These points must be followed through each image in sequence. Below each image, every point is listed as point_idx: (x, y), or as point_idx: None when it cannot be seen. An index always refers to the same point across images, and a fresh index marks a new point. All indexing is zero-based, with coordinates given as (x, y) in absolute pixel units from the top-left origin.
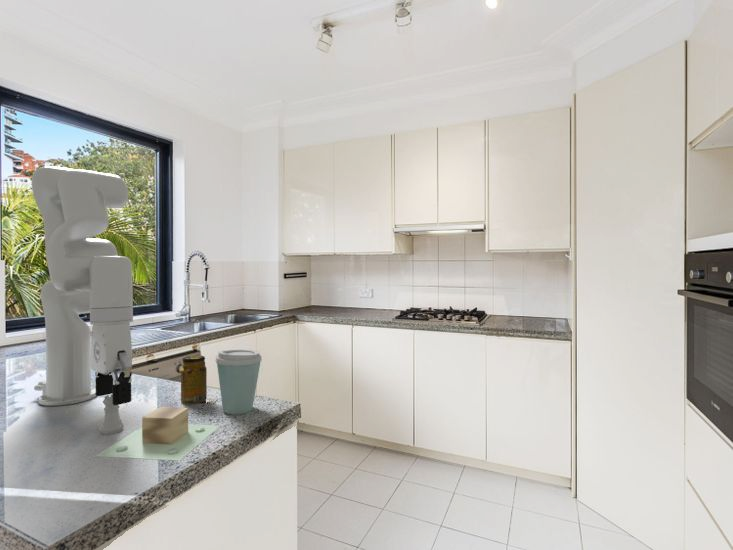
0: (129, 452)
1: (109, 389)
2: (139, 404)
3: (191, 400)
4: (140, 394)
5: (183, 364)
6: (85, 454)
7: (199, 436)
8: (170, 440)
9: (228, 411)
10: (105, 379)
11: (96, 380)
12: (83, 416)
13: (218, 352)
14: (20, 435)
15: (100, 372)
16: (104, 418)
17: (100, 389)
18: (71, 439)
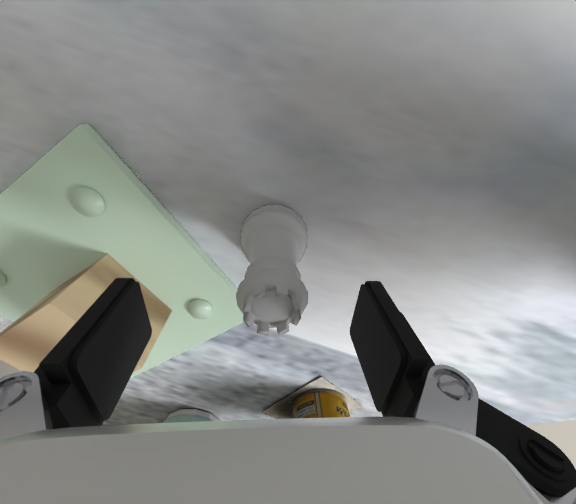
0: (50, 206)
1: (357, 336)
2: (432, 347)
3: (299, 411)
4: (499, 371)
5: None
6: (163, 122)
7: None
8: (44, 297)
9: (173, 421)
10: (383, 374)
11: (404, 343)
12: (499, 234)
13: None
14: (557, 12)
15: (105, 437)
16: (276, 239)
17: (368, 313)
18: (334, 138)
